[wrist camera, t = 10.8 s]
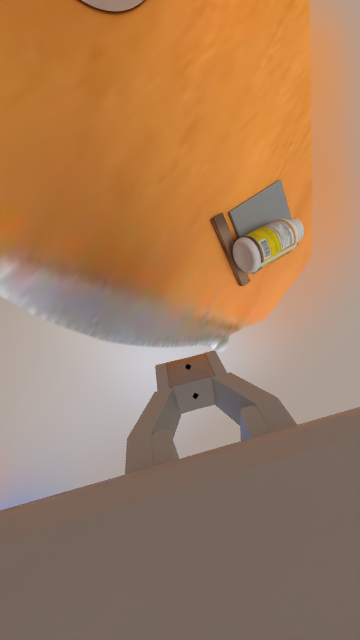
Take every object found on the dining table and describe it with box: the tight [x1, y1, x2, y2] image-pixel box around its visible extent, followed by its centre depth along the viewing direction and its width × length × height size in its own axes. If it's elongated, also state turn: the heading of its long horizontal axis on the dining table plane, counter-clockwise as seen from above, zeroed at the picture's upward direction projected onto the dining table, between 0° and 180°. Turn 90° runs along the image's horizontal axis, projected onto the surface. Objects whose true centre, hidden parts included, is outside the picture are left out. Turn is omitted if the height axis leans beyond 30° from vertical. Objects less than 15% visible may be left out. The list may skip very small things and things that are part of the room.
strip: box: [211, 213, 250, 286], centre depth 33 cm, size 12×2×1 cm, turn 31°
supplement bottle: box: [233, 218, 304, 273], centre depth 31 cm, size 6×6×10 cm
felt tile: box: [228, 180, 298, 274], centre depth 34 cm, size 11×10×1 cm
